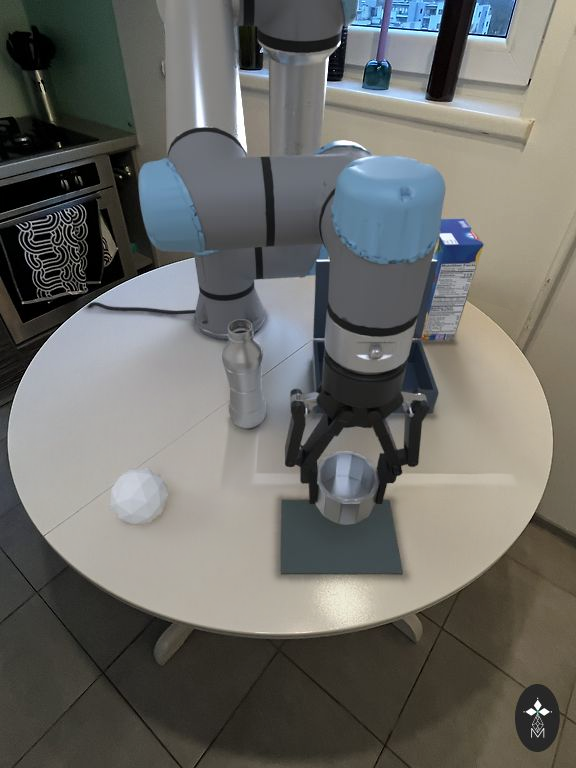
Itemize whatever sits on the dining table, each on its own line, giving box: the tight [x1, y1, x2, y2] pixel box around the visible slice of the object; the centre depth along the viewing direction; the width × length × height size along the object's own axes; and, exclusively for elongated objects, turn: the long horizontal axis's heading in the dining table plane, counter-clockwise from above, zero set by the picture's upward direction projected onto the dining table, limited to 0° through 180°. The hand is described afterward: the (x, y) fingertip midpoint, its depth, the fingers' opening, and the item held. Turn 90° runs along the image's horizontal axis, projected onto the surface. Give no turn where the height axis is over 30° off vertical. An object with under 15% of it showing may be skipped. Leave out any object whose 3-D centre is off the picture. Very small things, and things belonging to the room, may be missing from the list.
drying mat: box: [280, 499, 404, 575], centre depth 63 cm, size 16×11×1 cm
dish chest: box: [311, 339, 440, 414], centre depth 83 cm, size 15×21×6 cm
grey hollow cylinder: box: [316, 450, 380, 525], centre depth 55 cm, size 7×7×5 cm
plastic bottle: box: [221, 319, 268, 429], centre depth 72 cm, size 6×7×20 cm
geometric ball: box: [109, 467, 169, 525], centre depth 64 cm, size 8×8×8 cm
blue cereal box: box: [420, 218, 485, 342], centre depth 91 cm, size 7×11×22 cm, turn 2°
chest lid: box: [312, 259, 438, 339], centre depth 81 cm, size 15×21×1 cm
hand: (344, 494), depth 56 cm, fingers closed on grey hollow cylinder, 7 cm apart
